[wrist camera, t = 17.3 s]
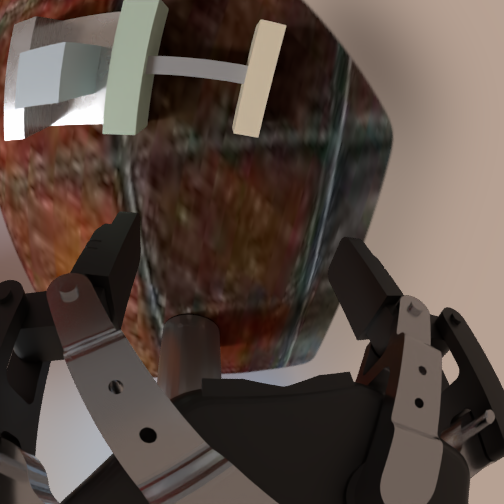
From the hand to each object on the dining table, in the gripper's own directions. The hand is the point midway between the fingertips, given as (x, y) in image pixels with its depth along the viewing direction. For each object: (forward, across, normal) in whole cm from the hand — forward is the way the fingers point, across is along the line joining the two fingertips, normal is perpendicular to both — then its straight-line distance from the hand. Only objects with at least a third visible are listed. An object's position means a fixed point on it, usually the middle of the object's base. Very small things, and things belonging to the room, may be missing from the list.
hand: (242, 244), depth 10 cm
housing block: (+18, +16, -7) cm, 25 cm away
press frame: (+18, +15, -7) cm, 25 cm away
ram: (+17, +4, -7) cm, 19 cm away
